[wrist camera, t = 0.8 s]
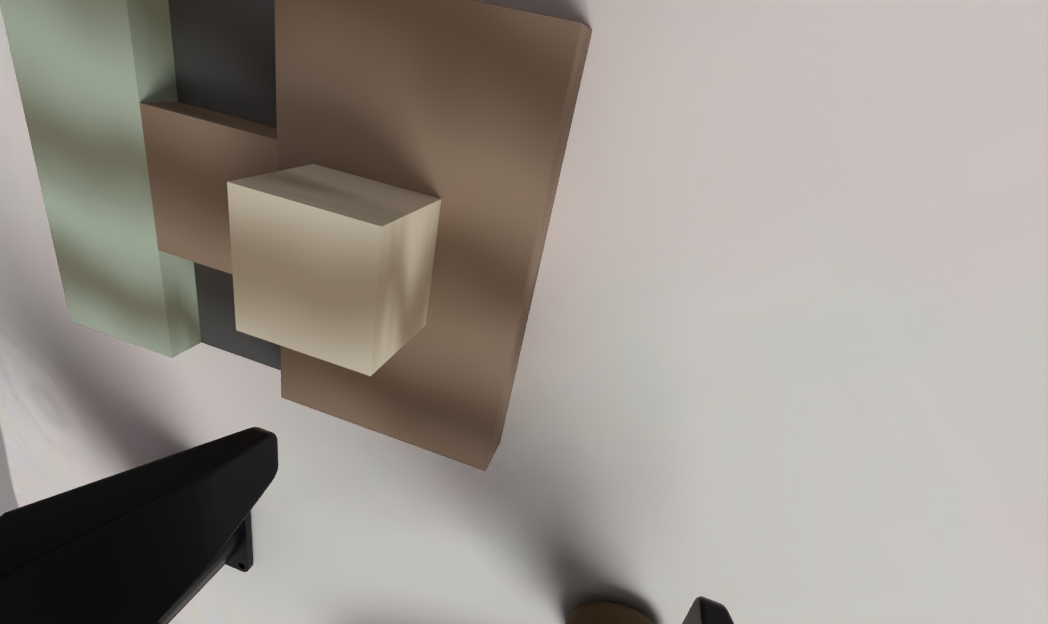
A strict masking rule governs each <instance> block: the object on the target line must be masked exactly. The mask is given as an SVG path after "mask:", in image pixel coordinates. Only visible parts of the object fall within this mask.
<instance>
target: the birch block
mask: <svg viewBox="0 0 1048 624" xmlns="http://www.w3.org/2000/svg"><path fill="white" fill-rule="evenodd" d="M227 191H228V207H229V223H230V240H231V256H232V272H233V288H234V304H235V321H236V330H237V331H240V332H243V333H246V334H249V335H252V336H254V337H257V338H260V339H263V340H266V341H269V342H272V343H275V344H278V345H281V346H284V347H287V348H289V349H292V350H295V351H298V352H301V353H304V354H307V355H310V356H313V357H316V358H319V359H322V360H324V361H327V362H330V363H333V364H336V365H339V366H342V367H345V368H348V369H351V370H354V371H357V372H359V373H362V374H365V375H368V376H372V375H373V374H374V373H375V372H376V371H377V370H378V369H379V368H380V367H381V366H382V365H383V364H384V363H385V362H387V361H388V360H389V359H390V358H391V357H392V356H393V355H394V354H395V353H396V352H397V351H398V350H399V349H400V348H402V347H403V346H404V345H405V344H406V343H407V342H408V341H409V340H410V339H411V338H412V337H413V336H414V335H416V334H417V333H418V332H419V331H420V330H421V329H422V328H423V327H424V326H425V325H426V318H427V310H428V302H429V294H430V286H431V278H432V270H433V262H434V254H435V246H436V238H437V230H438V222H439V214H440V206H441V199H440V198H436V197H432V196H429V195H425V194H421V193H418V192H414V191H410V190H407V189H403V188H399V187H396V186H392V185H389V184H385V183H381V182H378V181H374V180H370V179H367V178H363V177H359V176H356V175H352V174H348V173H345V172H341V171H337V170H334V169H330V168H327V167H323V166H319V165H316V164H311V165H306V166H301V167H296V168H291V169H286V170H282V171H277V172H272V173H267V174H262V175H257V176H253V177H248V178H243V179H238V180H233V181H229V182H227Z"/></svg>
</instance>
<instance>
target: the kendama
mask: <svg viewBox="0 0 1048 624" xmlns="http://www.w3.org/2000/svg"><path fill="white" fill-rule="evenodd" d="M565 624H655V623H654V622H653V621H651V620H650V619H649V618H647V617H646V616H644V615H643V614H642V613H640V612H639V611H637V610H635V609H632V608H630V607H627V606H624V605H622V604H619V603H612V602H603V601H598V602H591V603H585V604H580V605H579V606H577V607H576V608H575V609H574V610H572V611H571V612H570V613H569V614H568V617H567V620H566V623H565Z"/></svg>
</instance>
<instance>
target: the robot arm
mask: <svg viewBox="0 0 1048 624" xmlns="http://www.w3.org/2000/svg"><path fill="white" fill-rule="evenodd" d="M277 470H278V444H277V437H276V435H275V434H274V433H272V432H270V431H267V430H264V429H262V428H259V427H252V428H249V429H246V430H243V431H240V432H237V433H234V434H231V435H228V436H225V437H222V438H220V439H217V440H214V441H211V442H208V443H205V444H202V445H199V446H196V447H194V448H191V449H188V450H185V451H182V452H179V453H176V454H173V455H170V456H168V457H165V458H162V459H159V460H156V461H153V462H150V463H147V464H144V465H142V466H139V467H136V468H133V469H130V470H127V471H124V472H121V473H118V474H116V475H113V476H110V477H107V478H104V479H101V480H98V481H95V482H92V483H90V484H87V485H84V486H81V487H78V488H75V489H72V490H69V491H66V492H64V493H61V494H58V495H55V496H52V497H49V498H46V499H43V500H40V501H37V502H35V503H32V504H29V505H26V506H23V507H20V508H18V509H14V510H11V511H9V512H6V513H4V514H3V515H2V516H0V624H168V623H169V622H170V621H171V620H172V619H173V618H174V617H175V616H176V615H177V614H178V613H179V612H180V611H181V610H182V609H183V608H184V607H185V605H186V604H187V603H188V602H189V601H190V600H191V599H192V598H193V597H194V596H195V595H196V594H197V593H198V592H199V591H200V590H201V589H202V588H203V587H204V586H205V585H206V583H207V582H208V581H209V580H210V579H211V578H212V577H213V576H214V575H215V574H216V573H217V572H218V571H219V570H220V569H221V568H222V567H223V566H224V565H225V564H226V565H229V566H231V567H233V568H236V569H238V570H240V571H243V572H247V571H248V570H249V569H250V568H251V567H252V566H253V553H252V536H251V519H250V510H251V509H252V508H253V506H254V505H255V504H256V502H257V501H258V500H259V498H260V497H261V495H262V494H263V493H264V491H265V490H266V489H267V487H268V486H269V485H270V483H271V482H272V480H273V479H274V477H275V475H276V473H277ZM682 624H734V623H733V621H732V618H731V616H730V614H729V612H728V610H727V609H726V608H725V606H724V605H722V604H720V603H718V602H715V601H713V600H710V599H708V598H705V597H701V596H700V597H698V598H696V599H695V601H694V603H693V605H692V606H691V608H690V610H689V612H688V614H687V616H686V618H685V619H684V621H683V623H682Z"/></svg>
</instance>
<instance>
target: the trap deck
mask: <svg viewBox="0 0 1048 624" xmlns="http://www.w3.org/2000/svg"><path fill="white" fill-rule="evenodd" d="M0 5H1V10H2V14H3V19H4V23H5V28H6V32H7V37H8V41H9V46H10V50H11V55H12V59H13V64H14V68H15V73H16V77H17V82H18V86H19V91H20V95H21V100H22V104H23V109H24V113H25V118H26V122H27V127H28V131H29V136H30V140H31V145H32V149H33V153H34V158H35V162H36V167H37V171H38V176H39V180H40V185H41V189H42V194H43V198H44V203H45V207H46V212H47V216H48V221H49V225H50V230H51V234H52V239H53V243H54V248H55V252H56V257H57V261H58V266H59V270H60V275H61V279H62V284H63V288H64V293H65V297H66V302H67V306H68V311H69V315H70V320H71V321H72V322H74V323H77V324H80V325H83V326H85V327H88V328H91V329H94V330H96V331H99V332H102V333H105V334H108V335H110V336H113V337H116V338H119V339H121V340H124V341H127V342H130V343H132V344H135V345H138V346H141V347H144V348H146V349H149V350H152V351H155V352H157V353H160V354H163V355H166V356H168V357H171V358H173V357H175V356H176V355H178V354H180V353H182V352H184V351H186V350H188V349H190V348H191V347H193V346H195V345H197V344H199V343H201V342H202V343H205V344H208V345H211V346H213V347H216V348H219V349H222V350H225V351H228V352H231V353H233V354H236V355H239V356H242V357H245V358H248V359H250V360H253V361H256V362H259V363H262V364H265V365H267V366H270V367H273V368H276V369H279V370H281V395H282V398H285V399H287V400H290V401H293V402H296V403H299V404H301V405H304V406H307V407H310V408H312V409H315V410H318V411H321V412H323V413H326V414H329V415H332V416H334V417H337V418H340V419H343V420H346V421H348V422H351V423H354V424H357V425H359V426H362V427H365V428H368V429H370V430H373V431H376V432H379V433H382V434H384V435H387V436H390V437H393V438H395V439H398V440H401V441H404V442H406V443H409V444H412V445H415V446H418V447H420V448H423V449H426V450H429V451H431V452H434V453H437V454H440V455H442V456H445V457H448V458H451V459H453V460H456V461H459V462H462V463H465V464H467V465H470V466H473V467H476V468H478V469H481V470H484V471H486V469H487V467H488V465H489V463H490V461H491V459H492V457H493V455H494V453H495V451H496V449H497V447H498V445H499V443H500V440H501V435H502V431H503V426H504V422H505V417H506V413H507V408H508V404H509V399H510V395H511V390H512V386H513V381H514V377H515V372H516V368H517V364H518V359H519V355H520V350H521V346H522V341H523V337H524V332H525V328H526V323H527V319H528V314H529V310H530V305H531V301H532V297H533V292H534V288H535V283H536V279H537V274H538V270H539V265H540V261H541V256H542V252H543V247H544V243H545V238H546V234H547V230H548V225H549V221H550V216H551V212H552V207H553V203H554V198H555V194H556V189H557V185H558V180H559V176H560V171H561V167H562V163H563V158H564V154H565V149H566V145H567V140H568V136H569V131H570V127H571V122H572V118H573V113H574V109H575V104H576V100H577V95H578V91H579V87H580V82H581V78H582V73H583V69H584V64H585V60H586V55H587V51H588V46H589V42H590V37H591V33H592V29H590V28H589V27H587V26H586V25H584V24H583V23H580V22H575V21H571V20H566V19H561V18H556V17H551V16H546V15H541V14H536V13H531V12H527V11H522V10H517V9H512V8H507V7H502V6H497V5H492V4H488V3H483V2H478V1H473V0H0ZM311 164H316V165H319V166H323V167H327V168H330V169H334V170H337V171H341V172H345V173H348V174H352V175H356V176H359V177H363V178H367V179H370V180H374V181H378V182H381V183H385V184H389V185H392V186H396V187H399V188H403V189H407V190H410V191H414V192H418V193H421V194H425V195H429V196H432V197H436V198H440V199H441V206H440V214H439V222H438V230H437V238H436V246H435V254H434V262H433V270H432V278H431V286H430V294H429V302H428V310H427V318H426V325H425V326H424V327H423V328H422V329H421V330H420V331H419V332H418V333H417V334H416V335H414V336H413V337H412V338H411V339H410V340H409V341H408V342H407V343H406V344H405V345H404V346H403V347H402V348H400V349H399V350H398V351H397V352H396V353H395V354H394V355H393V356H392V357H391V358H390V359H389V360H388V361H387V362H385V363H384V364H383V365H382V366H381V367H380V368H379V369H378V370H377V371H376V372H375V373H374V374H373V375H372V376H368V375H365V374H362V373H359V372H357V371H354V370H351V369H348V368H345V367H342V366H339V365H336V364H333V363H330V362H327V361H324V360H322V359H319V358H316V357H313V356H310V355H307V354H304V353H301V352H298V351H295V350H292V349H289V348H287V347H284V346H281V345H278V344H275V343H272V342H269V341H266V340H263V339H260V338H257V337H254V336H252V335H249V334H246V333H243V332H240V331H237V330H236V321H235V304H234V288H233V272H232V256H231V240H230V223H229V207H228V191H227V182H229V181H233V180H238V179H243V178H248V177H253V176H257V175H262V174H267V173H272V172H277V171H282V170H286V169H291V168H296V167H301V166H306V165H311Z"/></svg>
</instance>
